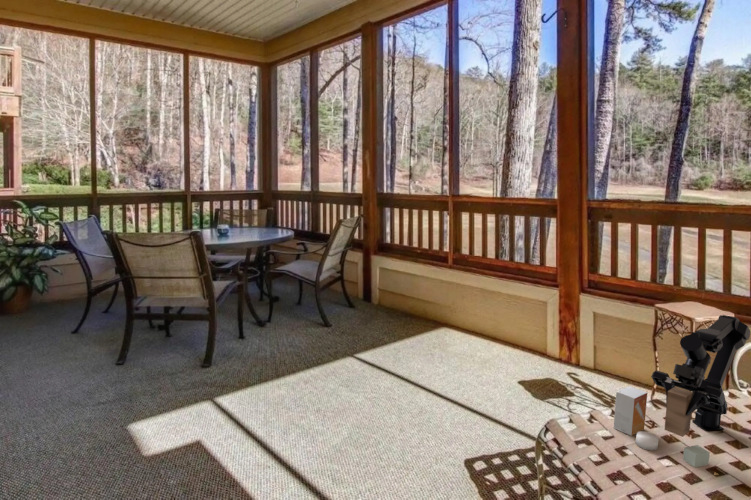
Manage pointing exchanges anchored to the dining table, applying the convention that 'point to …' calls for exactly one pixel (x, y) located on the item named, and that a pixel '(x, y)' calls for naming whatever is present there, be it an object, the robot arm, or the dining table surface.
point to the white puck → (647, 440)
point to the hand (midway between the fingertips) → (676, 411)
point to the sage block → (696, 456)
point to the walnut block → (678, 411)
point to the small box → (630, 410)
